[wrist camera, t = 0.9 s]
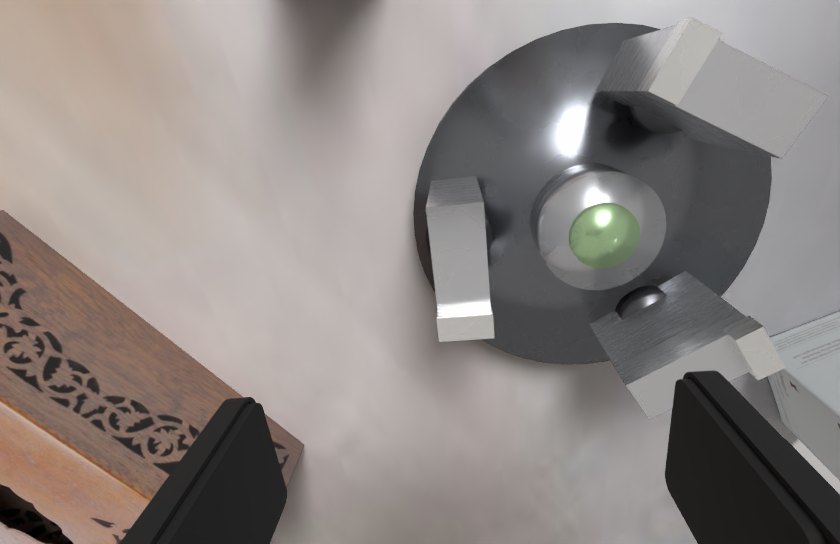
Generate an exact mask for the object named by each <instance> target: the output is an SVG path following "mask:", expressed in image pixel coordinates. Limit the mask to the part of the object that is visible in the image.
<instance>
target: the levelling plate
mask: <svg viewBox="0 0 840 544" xmlns="http://www.w3.org/2000/svg"><path fill="white" fill-rule="evenodd" d="M658 30H661V29H657V28H653V27H649V26H644V25H636V24H623V23H607V24H592V25H585V26H580V27H575V28H570V29H566V30H561V31H559V32H556V33H553V34H550V35H547V36H544V37H542V38H539V39H536V40H534V41H532V42H530V43H528V44H526V45H524V46H522V47H520V48H518V49H516V50H515V51H513V52H511V53H509V54H508V55H506V56H505V57H503V58H502V59H500V60H499V61H498V62H496V63H495V64H493V65H492V66H490V67H489V68H487V69H486V70H485V71H484V72H483V73H482V74H480V75H479V76H478V77H477V78H476V79H475V80H474V81H473V82H471V83H470V84H469V85H468V86H467V87H466V88H465V90H464V91H463V92H462V93H461V94H460V95H459V97H458V98H457V99H456V100H455V101H454V102H453V103H452V105H451V106H450V108H449V109H448V111H447V112H446V114H445V115H444V117H443V118H442V120H441V121H440V123H439V125H438V127H437V129H436V131H435V133H434V135H433V137H432V139H431V141H430V143H429V145H428V148H427V150H426V153H425V156H424V159H423V162H422V165H421V167H420V171H419V176H418V181H417V185H416V190H415V201H414V230H415V238H416V243H417V248H418V253H419V257H420V260H421V263H422V266H423V268H424V271H425V274H426V276H427V278H428V280H429V282H430V284H431V286H432V288H433V290H434V292H435V284H434V275H433V266H432V258H431V255H430V253H429V251H428V249H427V246H426V241H425V235H426V228H427V224H428V223H427V214H426V204H427V199H428V195H429V190H430V185H431V181H434V180H444V179H453V178H462V177H472V176H476V177H477V181H478V184H479V187H480V191H481V194H482V197H483V201H484V212H485V214H486V216H487V217H488V220H489V222H490V226H491V229H492V245H491V248H490V250H489V252H488V254H487V258H488V274H489V289H490V304H491V306H492V312H493V322H494V337H495V338H491V339H482V340H483V341H485V342H487V343H488V344H490V345H492V346H494V347H496V348H498V349H500V350H502V351H505V352H507V353H510V354H513V355H516V356H519V357H522V358H525V359H530V360H535V361H539V362H545V363H555V364H587V363H595V362H603V361H608V360H610V358H609V356H608V355H607V353H606V351H605V350H604V348H603V346H602V345H601V343H600V341H599V340H598V338H597V336H596V335H595V333H594V331H593V330H592V328H591V326H590V325H589V324H591V323H593V322H595V321H596V320H598V319H600V318H602V317H604V316H605V315H607V314H609V313H611V312H613V311H614V310H615V308H616V306H617V304H618V303H619V301H620V300H621V299H622V298H623V297H624V296H625V295H626V294H627V293H629V292H630V291H632V290H634V289H636V288H639V287H643V286H659V285H661V284H663V283H665V282H667V281H668V280H670V279H672V278H674V277H676V276H677V275H679V274H681V273H683V272H685V271H687V272H688V273H689V274H691V275H692V276H693V277H694V278H696V279H697V280H698V281H700V282H701V283H702V284H704V285H705V286H706V287H708V288H709V289H710V290H712V291H713V292H714V293H715V294H717V295H718V296H719V297H721V296H722V295H723V293H724V292H725V291H726V290H727V289H728V288H729V287H730V285H731V284H732V283H733V281H734V280H735V278H736V277H737V276H738V274H739V273H740V271H741V270H742V268H743V267H744V265H745V264H746V262H747V260H748V258H749V256H750V254H751V252H752V250H753V249H754V247H755V245H756V242H757V239H758V237H759V234H760V232H761V229H762V227H763V224H764V220H765V216H766V212H767V208H768V204H769V197H770V188H771V156H767V155H762V154H757V153H752V152H747V151H742V150H737V149H733V148H728V147H723V146H718V145H713V144H708V143H703V142H699V141H697V140H695V139H693V138H691V137H689V136H687V135H685V134H683V133H681V132H676V133H669V134H664V133H657V132H652V131H647V130H644V129H642V128H640V127H638V126H637V125H636V124H634V123H633V122H632V120H631V119H630V118H629V116H628V114H627V111H626V108H625V105H623V104H621V103H619V102H617V101H615V100H613V99H611V98H609V97H607V96H604V95H602V94H600V93H598V92H596V89H597V88H598V86H599V84H600V82H601V80H602V78H603V77H604V75H605V73H606V71H607V69H608V67H609V66H610V64H611V62H612V60H613V58H614V56H615V55H616V53H617V51H618V49H619V47H620V45H621V44H622V42H623V41H624V40H627V39H631V38H634V37H638V36H641V35H644V34H648V33H651V32H655V31H658Z"/></svg>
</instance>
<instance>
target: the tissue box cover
mask: <svg viewBox="0 0 840 544" xmlns="http://www.w3.org/2000/svg"><path fill="white" fill-rule="evenodd" d="M229 398H244V397H242V396H241V395H240V394H239V393H237V392H236V391H235V390H233V389H232V388H231V387H230V386H228V385H227V384H226V383H224V382H223V381H222V380H221V379H219V378H218V377H217V376H215V375H214V374H213V373H212V372H210V371H209V370H208V369H206V368H205V367H204V366H203V365H201V364H200V363H199V362H198V361H196V360H195V359H194V358H192V357H191V356H190V355H189V354H187V353H186V352H185V351H183V350H182V349H181V348H180V347H178V346H177V345H176V344H174V343H173V342H172V341H171V340H169V339H168V338H167V337H165V336H164V335H163V334H162V333H160V332H159V331H158V330H156V329H155V328H154V327H153V326H151V325H150V324H149V323H147V322H146V321H145V320H144V319H142V318H141V317H140V316H138V315H137V314H136V313H135V312H133V311H132V310H131V309H129V308H128V307H127V306H126V305H124V304H123V303H122V302H120V301H119V300H118V299H117V298H115V297H114V296H113V295H111V294H110V293H109V292H108V291H106V290H105V289H104V288H103V287H101V286H100V285H99V284H97V283H96V282H95V281H94V280H92V279H91V278H90V277H88V276H87V275H86V274H85V273H83V272H82V271H81V270H79V269H78V268H77V267H76V266H74V265H73V264H72V263H70V262H69V261H68V260H67V259H65V258H64V257H63V256H61V255H60V254H59V253H58V252H56V251H55V250H54V249H52V248H51V247H50V246H49V245H47V244H46V243H45V242H43V241H42V240H41V239H40V238H38V237H37V236H36V235H34V234H33V233H32V232H31V231H29V230H28V229H27V228H25V227H24V226H23V225H22V224H20V223H19V222H18V221H16V220H15V219H14V218H13V217H11V216H10V215H9V214H8V213H6V212H5V211H4V210H1V211H0V544H119V543H120V542H121V541H122V539H123V538H124V536H125V535H126V534H127V532H128V531H129V530H130V528H131V527H132V526H133V524H134V523H135V521H136V520H137V519H138V517H139V516H140V515H141V513H142V512H143V511H144V509H145V508H146V506H147V505H148V504H149V502H150V501H151V500H152V498H153V497H154V496H155V494H156V493H157V491H158V490H159V489H160V487H161V486H162V485H163V483H164V482H165V481H166V479H167V478H168V476H169V475H170V474H171V472H172V471H173V470H174V468H175V467H176V466H177V464H178V463H179V461H180V460H181V459H182V457H183V456H184V455H185V453H186V452H187V451H188V449H189V448H190V446H191V445H192V444H193V442H194V441H195V440H196V438H197V437H198V436H199V434H200V433H201V431H202V430H203V429H204V427H205V426H206V425H207V423H208V422H209V421H210V419H211V418H212V416H213V415H214V414H215V412H216V411H217V410H218V408H219V407H220V406H221V404H222V403H223V402H224V401H225V400H226V399H229ZM265 417H266V420H267V424H268V427H269V430H270V434H271V437H272V440H273V444H274V447H275V451H276V454H277V457H278V461H279V464H280V467H281V471H282V474H283V478H284V481H285V484H286V487H287V485H288V482H289V480H290V478H291V475H292V473H293V470H294V468H295V466H296V463H297V461H298V458H299V456H300V454H301V451H302V449H303V446H304V444H303V443H301V442H300V441H299V440H298V439H296V438H295V437H294V436H293V435H291V434H290V433H289V432H287V431H286V430H285V429H284V428H282V427H281V426H280V425H278V424H277V423H276V422H275V421H273V420H272V419H271V418H269V417H268V416H267V415H266V414H265Z"/></svg>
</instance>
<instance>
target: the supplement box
mask: <svg viewBox="0 0 840 544" xmlns="http://www.w3.org/2000/svg"><path fill="white" fill-rule="evenodd" d="M770 340H771V342H772V343H773V345H774V347H775V349H776V351H777V353H778V354H779V356H780V358H781V360H782V362H783V364H784V366H785V367H786V368H784V369H782V370H780V371H778V372H776V373H773V374H771V375H769V376H768V379H769V382H770V385H771V388H772V391H773V394H774V397H775V400H776V403H777V406H778V409H779V413H780V417H781V420H782V422H783V423H784V424H785V426H786V427H787V428H788V429H789V430H790V431H791V432H792V433H793V434H794V435H795V436H796V437H797V438H798V439H799V440H800V441H801V442H802V443H803V444H804V445H805V446H806V447H807V448H808V449H809V450H810V451H811V452H812V453H813V454H814V455H815V456H816V457H817V458H818V459H819V460H820V461H821V462H822V463H823V464H824V465H825V466H826V467H827V468H828V469H829V470H830V471H831V472H832V473H833V474H834V475H835V476H836V477H837V478H838V479H839V480H840V311H838V312H836V313H833V314H830V315H828V316H825V317H822V318H820V319H817V320H815V321H812V322H809V323H806V324H804V325H801V326H799V327H796V328H794V329H791V330H788V331H786V332H783V333H781V334H778V335H775V336H772V337H770Z"/></svg>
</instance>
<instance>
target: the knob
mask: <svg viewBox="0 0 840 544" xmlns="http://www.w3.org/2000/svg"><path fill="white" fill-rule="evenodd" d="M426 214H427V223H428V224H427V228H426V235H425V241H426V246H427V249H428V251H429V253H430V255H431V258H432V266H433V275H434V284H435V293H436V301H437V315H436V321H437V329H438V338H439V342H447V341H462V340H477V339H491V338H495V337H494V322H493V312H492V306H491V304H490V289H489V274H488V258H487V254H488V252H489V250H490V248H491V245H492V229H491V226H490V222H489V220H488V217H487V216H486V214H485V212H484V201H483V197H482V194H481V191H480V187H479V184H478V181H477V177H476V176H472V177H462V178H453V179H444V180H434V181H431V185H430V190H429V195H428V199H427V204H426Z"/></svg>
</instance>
